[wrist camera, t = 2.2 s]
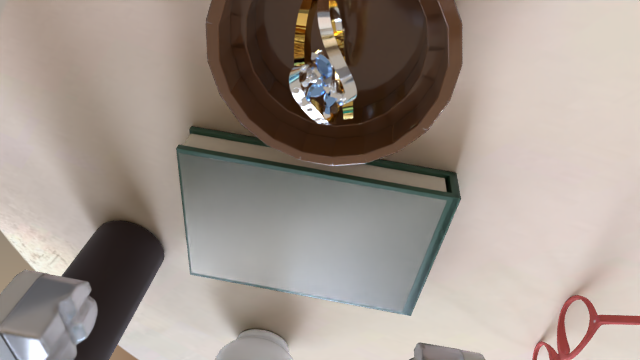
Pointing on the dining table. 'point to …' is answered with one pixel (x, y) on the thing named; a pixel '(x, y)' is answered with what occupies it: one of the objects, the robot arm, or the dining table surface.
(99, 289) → the vinegar
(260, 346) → the flower vase
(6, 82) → the dining table surface
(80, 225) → the dining table surface
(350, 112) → the ring
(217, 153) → the book
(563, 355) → the red eyeglasses
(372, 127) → the bowl
